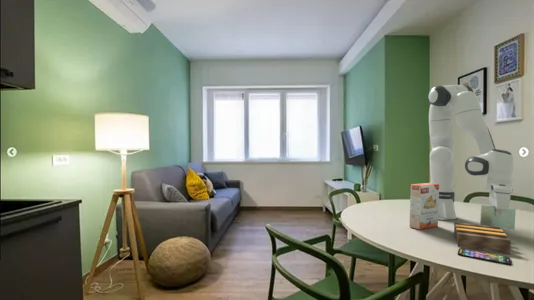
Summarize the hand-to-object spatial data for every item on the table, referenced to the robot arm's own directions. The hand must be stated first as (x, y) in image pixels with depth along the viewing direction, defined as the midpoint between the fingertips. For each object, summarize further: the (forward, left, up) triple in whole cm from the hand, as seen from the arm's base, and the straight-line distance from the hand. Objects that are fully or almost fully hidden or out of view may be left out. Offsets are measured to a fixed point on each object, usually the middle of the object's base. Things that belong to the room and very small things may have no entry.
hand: (497, 216), depth 131 cm
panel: (0, 0, -5) cm, 5 cm away
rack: (-9, -19, -8) cm, 22 cm away
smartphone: (-10, -37, -8) cm, 39 cm away
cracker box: (-29, -5, -8) cm, 30 cm away
